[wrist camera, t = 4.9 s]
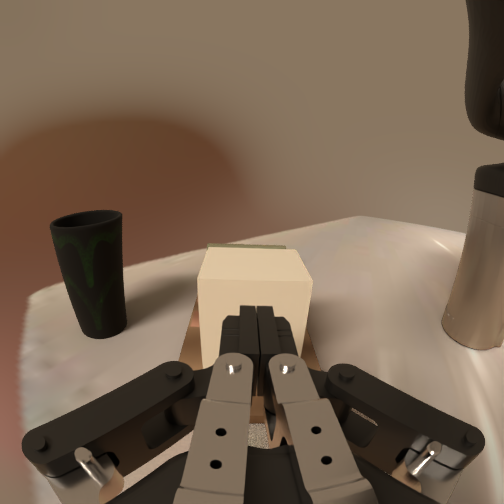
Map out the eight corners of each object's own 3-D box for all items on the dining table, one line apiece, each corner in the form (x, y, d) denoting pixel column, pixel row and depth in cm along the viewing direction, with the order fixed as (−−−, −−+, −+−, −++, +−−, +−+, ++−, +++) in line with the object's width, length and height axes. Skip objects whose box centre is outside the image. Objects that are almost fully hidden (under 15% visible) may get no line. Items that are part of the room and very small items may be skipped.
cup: (102, 301, 32) (89, 208, 28) (148, 316, 30) (137, 211, 26) (61, 330, 25) (36, 225, 21) (106, 353, 23) (80, 231, 19)
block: (295, 384, 20) (312, 281, 17) (204, 383, 19) (197, 278, 17) (285, 339, 25) (295, 249, 22) (211, 338, 25) (208, 246, 22)
